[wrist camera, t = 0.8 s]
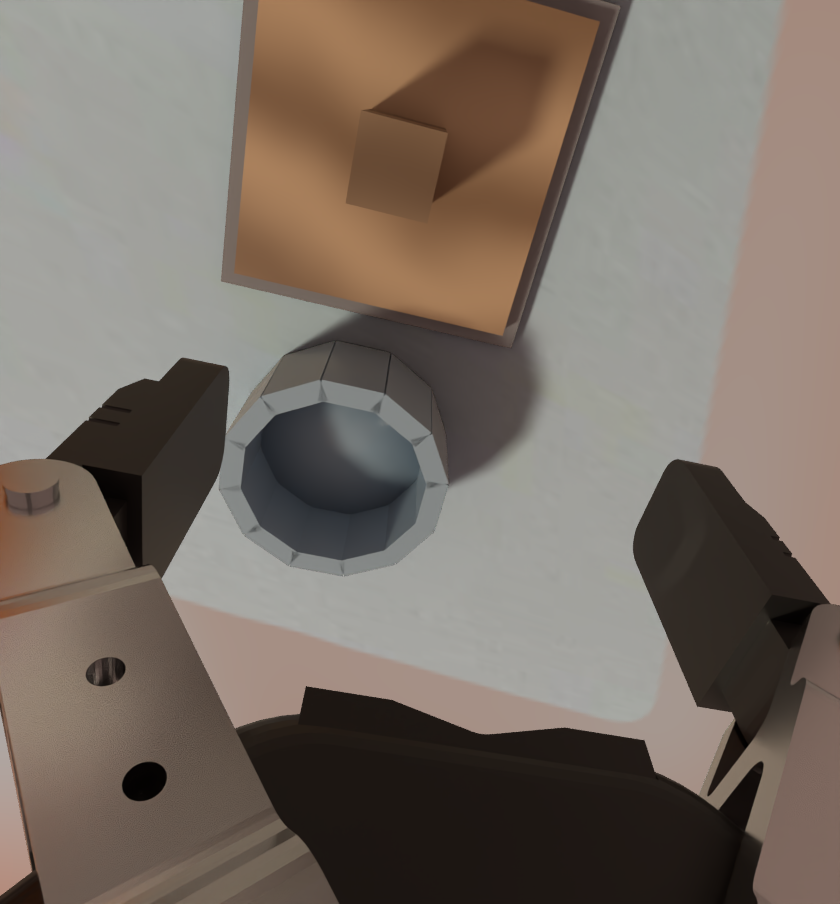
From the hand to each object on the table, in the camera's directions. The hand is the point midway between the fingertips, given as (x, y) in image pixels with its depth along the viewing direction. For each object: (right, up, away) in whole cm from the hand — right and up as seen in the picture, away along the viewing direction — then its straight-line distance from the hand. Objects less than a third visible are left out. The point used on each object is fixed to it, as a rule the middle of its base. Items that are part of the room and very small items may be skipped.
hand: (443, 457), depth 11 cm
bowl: (-4, +1, +22) cm, 23 cm away
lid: (-1, +13, +15) cm, 20 cm away
